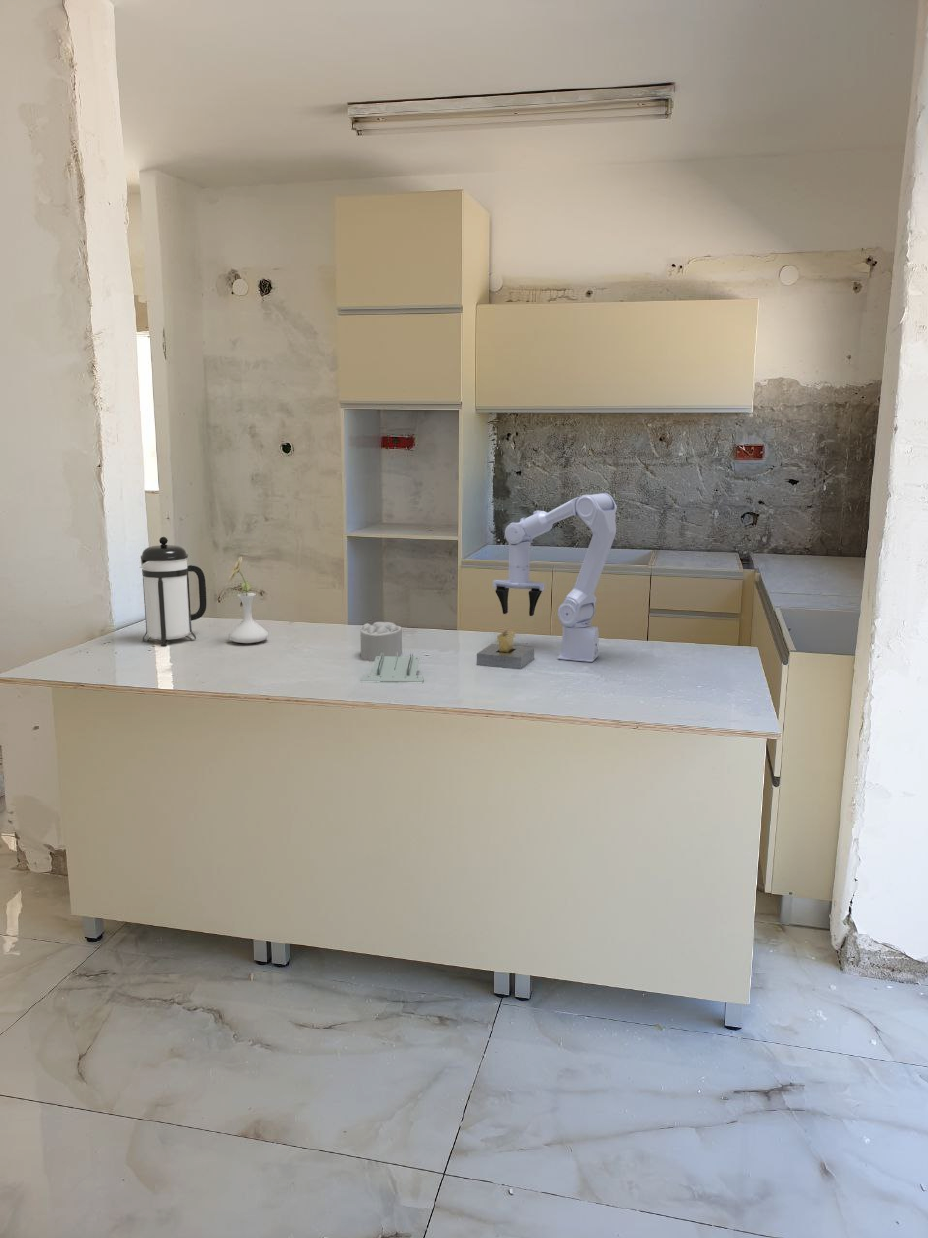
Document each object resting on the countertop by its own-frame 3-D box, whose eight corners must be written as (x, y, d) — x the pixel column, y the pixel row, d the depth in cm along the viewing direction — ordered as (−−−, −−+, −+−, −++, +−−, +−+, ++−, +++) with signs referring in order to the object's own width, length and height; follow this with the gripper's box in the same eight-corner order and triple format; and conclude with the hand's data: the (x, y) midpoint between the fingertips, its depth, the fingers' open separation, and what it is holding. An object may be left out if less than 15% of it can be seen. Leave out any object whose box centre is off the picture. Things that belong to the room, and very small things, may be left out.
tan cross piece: (514, 659, 246) (514, 631, 245) (506, 665, 240) (506, 636, 239) (505, 658, 247) (506, 630, 246) (497, 664, 241) (497, 635, 239)
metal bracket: (368, 648, 234) (427, 649, 233) (369, 668, 237) (428, 668, 236) (359, 677, 222) (422, 678, 221) (361, 698, 224) (423, 699, 223)
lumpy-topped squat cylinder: (405, 651, 255) (404, 620, 254) (392, 662, 243) (392, 630, 241) (368, 649, 257) (368, 618, 255) (354, 660, 245) (354, 628, 243)
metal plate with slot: (534, 658, 247) (534, 647, 246) (520, 669, 236) (521, 657, 235) (491, 654, 251) (491, 643, 250) (476, 664, 240) (476, 653, 239)
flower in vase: (237, 636, 272) (233, 552, 267) (274, 638, 271) (271, 553, 266) (219, 646, 260) (215, 558, 255) (258, 648, 258) (255, 559, 253)
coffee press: (191, 646, 259) (185, 539, 254) (134, 646, 260) (127, 539, 254) (208, 633, 276) (203, 533, 271) (155, 633, 277) (149, 533, 271)
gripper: (489, 566, 254) (489, 615, 257) (540, 569, 249) (539, 618, 252) (497, 563, 261) (497, 610, 263) (547, 565, 256) (546, 614, 258)
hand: (518, 614), depth 258 cm, fingers open, 7 cm apart
